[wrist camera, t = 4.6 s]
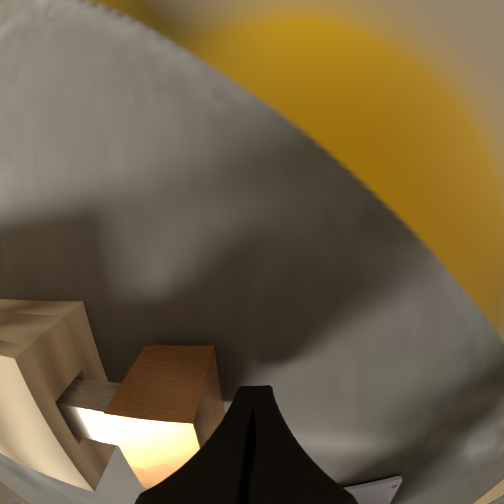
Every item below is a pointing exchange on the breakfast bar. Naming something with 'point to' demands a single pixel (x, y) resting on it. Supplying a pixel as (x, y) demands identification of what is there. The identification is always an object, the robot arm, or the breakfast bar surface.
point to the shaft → (151, 409)
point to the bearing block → (47, 388)
